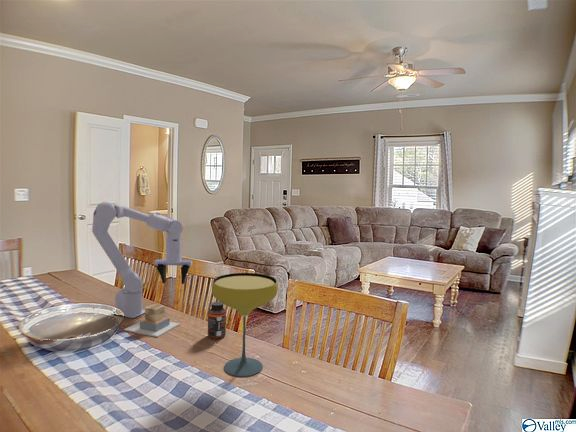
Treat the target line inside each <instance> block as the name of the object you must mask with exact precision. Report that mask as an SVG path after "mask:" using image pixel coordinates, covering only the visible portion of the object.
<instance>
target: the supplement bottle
mask: <svg viewBox="0 0 576 432" xmlns="http://www.w3.org/2000/svg"><path fill="white" fill-rule="evenodd" d="M210 304H211V306H210V307H211V308H209V310H208V311H207V317H208V318H207V319H208V320H207V336H208V337H209V338H210V339H214V340H215V339H216V340H217V339H223V338H224V337H225V336H226V333H227V330H226V329H227V328H226V327H227V325H226V324H227V310H226V308H225V307H224V304H222V303H221V302H219V301H213V302H211V303H210Z"/></svg>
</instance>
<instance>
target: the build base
mask: <svg viewBox="0 0 576 432" xmlns="http://www.w3.org/2000/svg"><path fill="white" fill-rule="evenodd" d="M170 320H171V319H170V317H166V316H164V319H162V320H160V321H158V322H156V323H155V322H150V321H145V318H144V319H142V320H140V321H138V322H136V323H134V324H132V325H130V326H128V327H126V328H124V329H123V331H125V332H130V333H135V334H139V335H144V336H149V337H153V338H160V337H161V336H163V335H165V334H166V333H168V332H171V331H172V330H173V329H175V328H176V327H177V328H178V327H179V326H180V324H181V323H179V322H173V321H170Z"/></svg>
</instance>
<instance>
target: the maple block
mask: <svg viewBox="0 0 576 432" xmlns="http://www.w3.org/2000/svg"><path fill="white" fill-rule="evenodd" d="M144 310H145V313H144V319H145V321H150V322H155V323H156V322H158V321H160V320H162V319H164V317H165V305H163V304H162V305H160V304H156V303H155V304H154V303H153V304H151V305H149V306H145V308H144Z"/></svg>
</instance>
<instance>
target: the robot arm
mask: <svg viewBox="0 0 576 432" xmlns="http://www.w3.org/2000/svg"><path fill="white" fill-rule="evenodd" d="M124 217H125V218H128V219H133V220H135V221H139V222H143V223H145V224H146V226H147V227H148V228H151V229H154V230H157V231H160V232H166V241H165V245H166V248H165V249H166V250H165V254H166V255H165V257H166V258H165V259H155V260H154V266H156V270H157V272H158V273H159V275H160V278H161V283H162V284H166V282H167V266H181V267H180V271H181V282H180V283H181V285H184V284H185V283H186V278H187V275H188V273H189V271H190V268H191V267H192V266H193V260H188V259H187V260H186V259H182V233H183V230H184V226H183V224H182V223H181V222H180V220H179V221H178V220H176V219H174V218H173V217H170V216H168V217H167V216H163V215H161V214H160V212H152V213H150V214H146V213H144V212H142V211H138V210H136V209H133V208H130V207H127V206H125V205H120V204H115V203H110V202H101V203H99V204H97V206H96V207H95V209H94V211H93V216H92V229H91V232H92V233H93V236H94V238H95V240H97V243H99V246H101V248H102V249H103V251H104V253H105V254H106V256H107V257H108V258H109V260H110V262H111V263H112V265H113V266H114V269H116V271H117V273H118V274H119V275H120V277H121V279H122V280H121V283H122V285H124V287H123V288H122V289H120V290H118V291H117V293H116V294H115V303H114V304H115V308H118V309H120V310H121V311H122V312H123V313H124V315H125V318H131V319H135V318H137V317H140V316H141V315H145V309H143V287H144V286H143V285H144V282H143V280H142V279H141V278H140V275H139V273H137V272H135V271H134V270H133V269H132V268H131V266H130V265H129V263H128V261H127V259H125V257H124V255H123V253H122V252H121V250H120V249H119V247H118V246H117V243H115V241H114V240H113V238H112V236H111V234H110V233H109V231H108V230H109V228H110V225H111V223H112V222H113V220H115V218H117V219H121V218H124Z"/></svg>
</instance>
